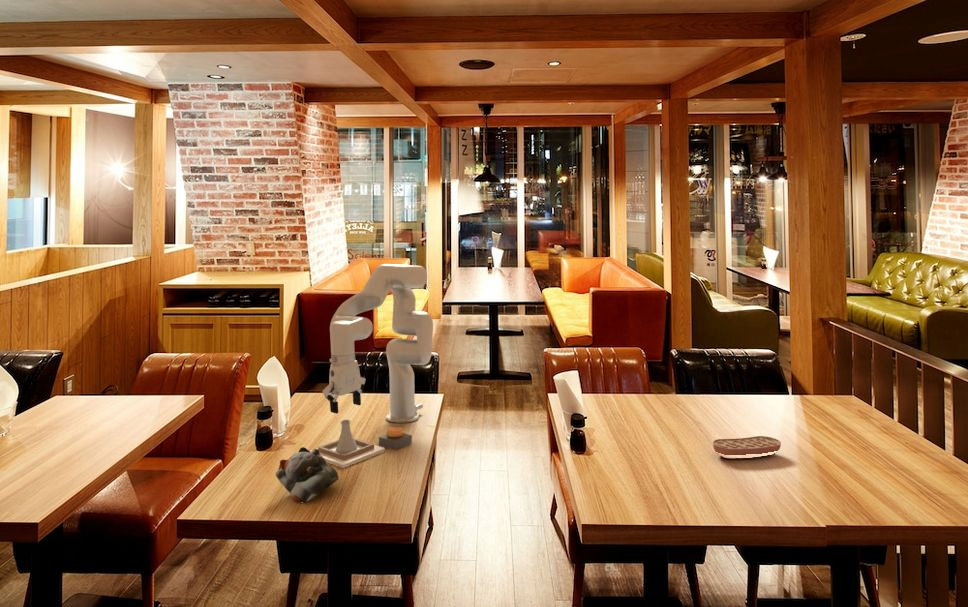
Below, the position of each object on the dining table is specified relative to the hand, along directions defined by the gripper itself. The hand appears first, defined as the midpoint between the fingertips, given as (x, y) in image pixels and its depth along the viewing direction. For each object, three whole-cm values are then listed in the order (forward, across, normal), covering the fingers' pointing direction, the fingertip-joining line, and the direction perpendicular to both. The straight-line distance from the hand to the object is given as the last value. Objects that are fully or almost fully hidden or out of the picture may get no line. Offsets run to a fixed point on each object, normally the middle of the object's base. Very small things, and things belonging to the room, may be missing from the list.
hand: (346, 408), depth 212 cm
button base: (+16, +15, -7) cm, 23 cm away
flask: (+14, -1, 0) cm, 14 cm away
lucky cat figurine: (+15, -28, -16) cm, 35 cm away
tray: (+15, -1, 0) cm, 15 cm away
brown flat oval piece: (+17, +76, -108) cm, 133 cm away
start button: (+15, +15, -7) cm, 22 cm away
